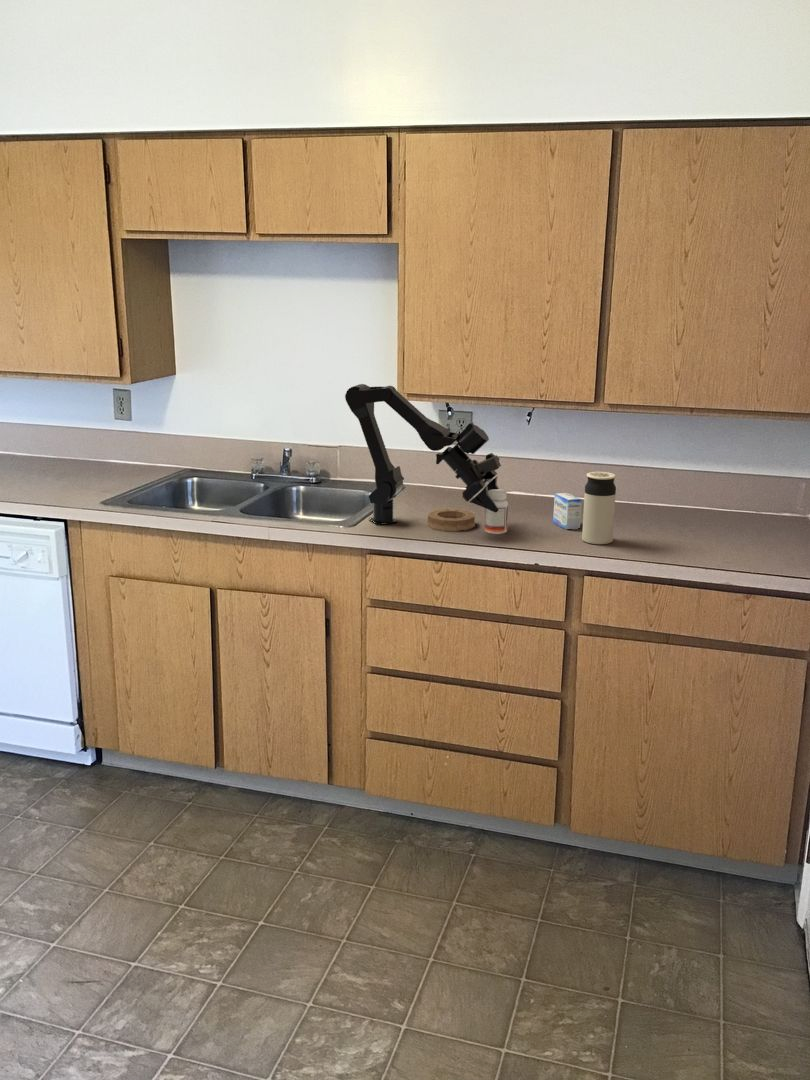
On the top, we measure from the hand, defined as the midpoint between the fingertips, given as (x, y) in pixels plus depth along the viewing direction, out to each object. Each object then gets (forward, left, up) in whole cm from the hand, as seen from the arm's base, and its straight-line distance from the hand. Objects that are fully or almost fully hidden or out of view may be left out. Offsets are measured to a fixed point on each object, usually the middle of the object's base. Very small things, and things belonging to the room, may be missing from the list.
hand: (500, 507), depth 272 cm
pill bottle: (-1, -1, -7) cm, 7 cm away
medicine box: (+2, +20, -7) cm, 21 cm away
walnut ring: (-12, -9, -7) cm, 16 cm away
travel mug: (+18, +19, -7) cm, 27 cm away
